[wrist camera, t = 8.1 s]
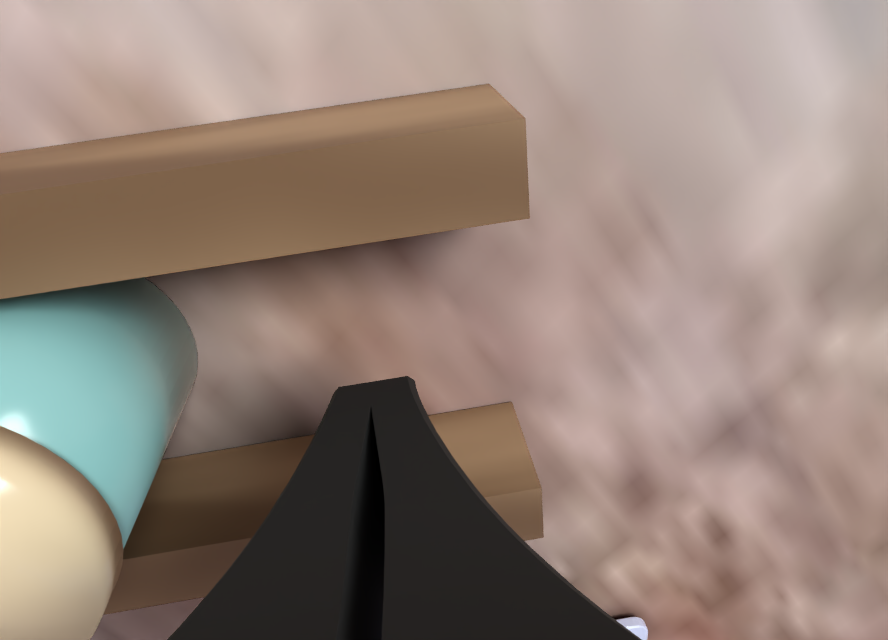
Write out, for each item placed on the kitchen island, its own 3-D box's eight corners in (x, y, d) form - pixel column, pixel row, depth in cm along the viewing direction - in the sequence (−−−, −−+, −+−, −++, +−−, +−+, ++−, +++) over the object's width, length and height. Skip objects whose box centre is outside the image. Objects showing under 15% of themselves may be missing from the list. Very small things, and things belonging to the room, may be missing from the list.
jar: (233, 415, 15) (159, 653, 10) (30, 455, 15) (-154, 716, 10) (149, 224, 12) (-11, 407, 7) (-95, 272, 12) (-434, 491, 7)
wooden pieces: (515, 447, 17) (543, 537, 14) (-234, 574, 16) (-351, 694, 13) (489, 83, 12) (525, 118, 9) (-594, 238, 11) (-890, 323, 8)
